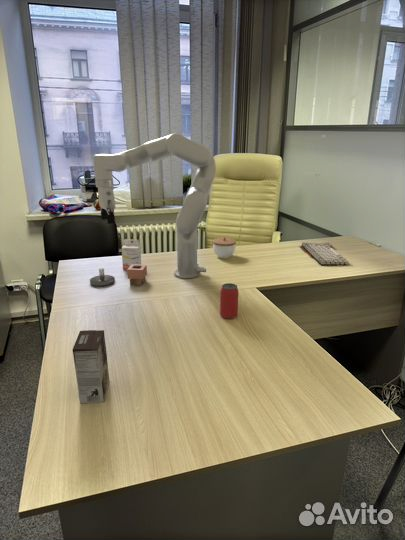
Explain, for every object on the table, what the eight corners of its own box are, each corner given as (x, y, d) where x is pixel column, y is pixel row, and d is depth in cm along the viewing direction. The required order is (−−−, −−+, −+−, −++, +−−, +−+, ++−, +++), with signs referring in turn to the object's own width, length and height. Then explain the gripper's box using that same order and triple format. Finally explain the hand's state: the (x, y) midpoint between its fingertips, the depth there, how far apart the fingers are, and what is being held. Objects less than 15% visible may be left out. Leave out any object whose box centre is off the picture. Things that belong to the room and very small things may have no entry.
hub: (118, 278, 174) (117, 265, 172) (110, 287, 164) (108, 273, 162) (95, 277, 175) (94, 264, 173) (86, 286, 165) (84, 272, 163)
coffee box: (86, 381, 102) (79, 329, 96) (110, 380, 102) (105, 328, 97) (78, 404, 93) (71, 349, 88) (104, 402, 94) (98, 347, 88)
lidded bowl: (223, 251, 214) (224, 233, 211) (240, 256, 206) (240, 237, 202) (208, 256, 206) (208, 237, 203) (224, 261, 198) (224, 241, 194)
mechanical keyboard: (355, 266, 193) (356, 260, 191) (319, 267, 192) (319, 261, 190) (327, 246, 228) (328, 241, 227) (297, 247, 227) (297, 241, 226)
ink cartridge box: (122, 269, 186) (120, 241, 180) (125, 266, 190) (123, 238, 185) (139, 270, 185) (137, 242, 180) (141, 267, 189) (140, 239, 184)
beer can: (239, 313, 141) (240, 284, 137) (235, 320, 135) (236, 290, 131) (222, 310, 143) (223, 281, 139) (217, 318, 137) (218, 288, 133)
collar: (147, 273, 172) (146, 264, 170) (143, 279, 165) (142, 270, 164) (132, 273, 172) (131, 264, 171) (127, 278, 166) (127, 269, 164)
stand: (145, 279, 174) (144, 262, 171) (140, 286, 165) (139, 269, 163) (135, 278, 174) (134, 262, 172) (130, 285, 166) (128, 269, 163)
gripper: (118, 184, 159) (122, 223, 164) (106, 180, 173) (110, 217, 178) (101, 186, 155) (105, 226, 161) (90, 181, 169) (94, 218, 175)
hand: (108, 221), depth 170 cm, fingers open, 9 cm apart
